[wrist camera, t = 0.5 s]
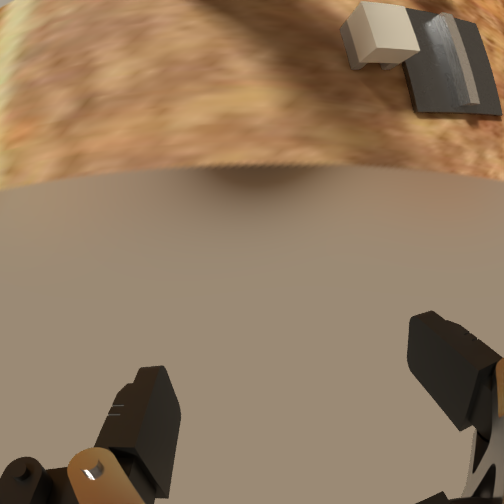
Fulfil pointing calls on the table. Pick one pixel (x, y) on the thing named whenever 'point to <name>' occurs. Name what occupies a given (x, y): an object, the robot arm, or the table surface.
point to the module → (378, 35)
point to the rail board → (449, 67)
